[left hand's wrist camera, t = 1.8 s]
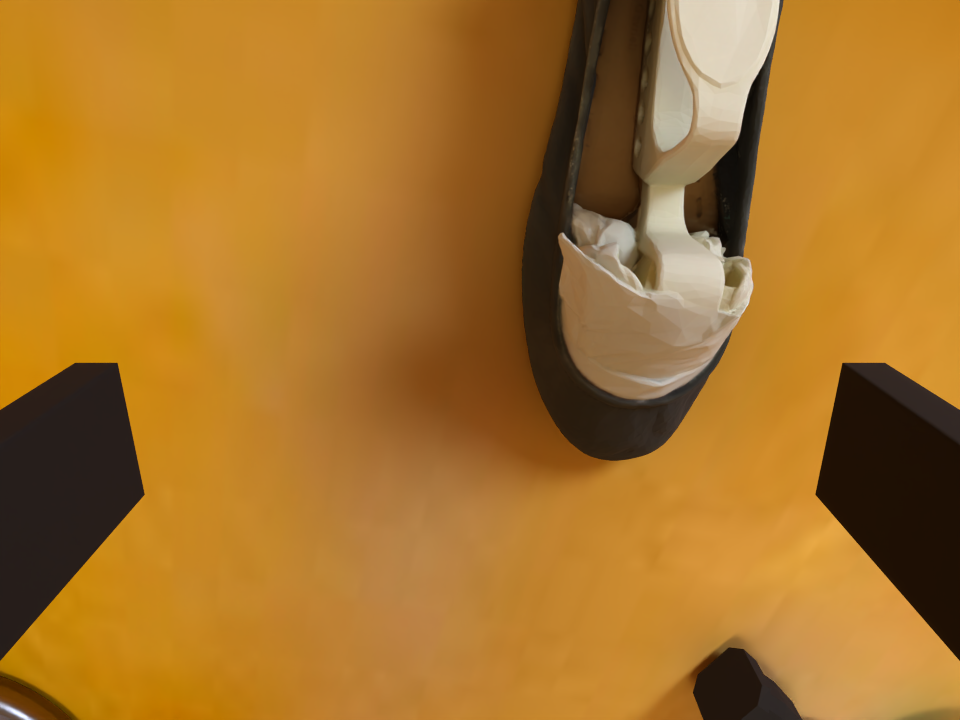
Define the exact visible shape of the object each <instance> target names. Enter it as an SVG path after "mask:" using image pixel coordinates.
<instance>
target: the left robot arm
mask: <svg viewBox="0 0 960 720" xmlns="http://www.w3.org/2000/svg"><path fill="white" fill-rule="evenodd" d="M144 495H145V494H144V489H143V485H142V480H141V475H140V470H139V465H138V460H137V455H136V451H135V446H134V441H133V436H132V431H131V426H130V421H129V417H128V412H127V407H126V402H125V397H124V392H123V387H122V383H121V378H120V373H119V368H118V363H74V364H73V365H71V366H70V367H68V368H66V369H65V370H63V371H62V372H60V373H58V374H57V375H55V376H54V377H52V378H50V379H49V380H47V381H46V382H44V383H42V384H41V385H39V386H38V387H36V388H35V389H33V390H31V391H30V392H28V393H27V394H25V395H23V396H22V397H20V398H19V399H17V400H15V401H14V402H12V403H11V404H9V405H7V406H6V407H4V408H3V409H1V410H0V660H1V659H2V658H3V657H4V656H5V655H6V653H7V652H8V651H9V650H10V649H11V648H12V647H13V645H14V644H15V643H16V642H17V641H18V640H19V639H20V637H21V636H22V635H23V634H24V633H25V632H26V630H27V629H28V628H29V627H30V626H31V625H32V624H33V622H34V621H35V620H36V619H37V618H38V617H39V616H40V614H41V613H42V612H43V611H44V610H45V609H46V607H47V606H48V605H49V604H50V603H51V602H52V601H53V599H54V598H55V597H56V596H57V595H58V594H59V592H60V591H61V590H62V589H63V588H64V587H65V586H66V584H67V583H68V582H69V581H70V580H71V579H72V578H73V576H74V575H75V574H76V573H77V572H78V571H79V569H80V568H81V567H82V566H83V565H84V564H85V563H86V561H87V560H88V559H89V558H90V557H91V556H92V554H93V553H94V552H95V551H96V550H97V549H98V548H99V546H100V545H101V544H102V543H103V542H104V541H105V540H106V538H107V537H108V536H109V535H110V534H111V533H112V531H113V530H114V529H115V528H116V527H117V526H118V525H119V523H120V522H121V521H122V520H123V519H124V518H125V517H126V515H127V514H128V513H129V512H130V511H131V510H132V508H133V507H134V506H135V505H136V504H137V503H138V502H139V500H140V499H141V498H142V497H143V496H144ZM815 495H816V496H817V497H818V498H819V499H820V500H821V502H822V503H823V504H824V505H825V506H826V507H827V508H828V510H829V511H830V512H831V513H832V514H833V515H834V517H835V518H836V519H837V520H838V521H839V522H840V523H841V525H842V526H843V527H844V528H845V529H846V530H847V531H848V533H849V534H850V535H851V536H852V537H853V538H854V540H855V541H856V542H857V543H858V544H859V545H860V546H861V548H862V549H863V550H864V551H865V552H866V553H867V554H868V556H869V557H870V558H871V559H872V560H873V561H874V563H875V564H876V565H877V566H878V567H879V568H880V569H881V571H882V572H883V573H884V574H885V575H886V576H887V578H888V579H889V580H890V581H891V582H892V583H893V584H894V586H895V587H896V588H897V589H898V590H899V591H900V592H901V594H902V595H903V596H904V597H905V598H906V599H907V601H908V602H909V603H910V604H911V605H912V606H913V607H914V609H915V610H916V611H917V612H918V613H919V614H920V615H921V617H922V618H923V619H924V620H925V621H926V622H927V624H928V625H929V626H930V627H931V628H932V629H933V630H934V632H935V633H936V634H937V635H938V636H939V637H940V639H941V640H942V641H943V642H944V643H945V644H946V645H947V647H948V648H949V649H950V650H951V651H952V652H953V653H954V655H955V656H956V657H957V658H958V659H959V660H960V410H959V409H957V408H956V407H954V406H953V405H951V404H949V403H948V402H946V401H945V400H943V399H941V398H940V397H938V396H937V395H935V394H933V393H932V392H930V391H929V390H927V389H925V388H924V387H922V386H921V385H919V384H918V383H916V382H914V381H913V380H911V379H910V378H908V377H906V376H905V375H903V374H902V373H900V372H898V371H897V370H895V369H894V368H892V367H890V366H889V365H887V364H886V363H842V368H841V373H840V378H839V383H838V387H837V392H836V397H835V402H834V407H833V412H832V417H831V421H830V426H829V431H828V436H827V441H826V446H825V451H824V455H823V460H822V465H821V470H820V475H819V480H818V485H817V489H816V494H815ZM0 720H72V719H71V718H70V717H69V716H68V715H66V714H65V713H64V712H63V711H62V710H61V709H60V708H58V707H57V706H56V705H54V704H53V703H51V702H50V701H49V700H47V699H46V698H44V697H43V696H41V695H39V694H38V693H36V692H34V691H32V690H31V689H29V688H27V687H25V686H23V685H21V684H19V683H16V682H14V681H12V680H10V679H7V678H4V677H2V676H0Z"/></svg>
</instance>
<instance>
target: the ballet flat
mask: <svg viewBox="0 0 960 720" xmlns="http://www.w3.org/2000/svg"><path fill="white" fill-rule="evenodd" d="M782 7H783V0H578V4H577V10H576V17H575V22H574V27H573V33H572V37H571V41H570V47H569V53H568V60H567V65H566V69H565V74H564V80H563V86H562V91H561V94H560V99H559V103H558V108H557V113H556V118H555V120H554V123H553V126H552V130H551V134H550V138H549V142H548V145H547V150H546V153H545V156H544V161H543V170H542V176H541V178H540V181H539V183H538V185H537V188H536V190H535V194H534V198H533V201H532V205H531V210H530V214H529V218H528V221H527V227H526V236H525V240H524V247H523V259H522V263H523V266H522V299H523V312H524V326H525V332H526V340H527V345H528V351H529V357H530V363H531V367H532V371H533V375H534V378H535V381H536V384H537V387H538V390H539V392H540V395H541V397H542V400H543V402H544V404H545V406H546V408H547V410H548V412H549V413H550V415H551V417H552V419H553V420H554V422H555V424H556V425H557V427H558V428H559V429H560V431H561V433H562V434H563V435H564V436H565V437H566V438H567V439H568V440H569V442H570V443H572V444H573V445H574V446H575V447H577V448H578V449H579V450H580V451H582V452H583V453H585V454H587V455H589V456H591V457H595V458H598V459H603V460H611V461H618V460H626V459H632V458H636V457H640V456H643V455H646V454H649V453H651V452H653V451H655V450H656V449H658V448H659V447H661V446H662V445H663V444H664V443H665V442H666V441H667V440H668V439H669V438H670V437H671V436H672V434H673V433H674V432H675V430H676V429H677V428H678V426H679V424H680V423H681V422H682V420H683V418H684V417H685V415H686V414H687V412H688V411H689V409H690V407H691V406H692V404H693V402H694V401H695V399H696V397H697V396H698V394H699V392H700V391H701V389H702V388H703V386H704V384H705V383H706V381H707V379H708V377H709V375H710V374H711V372H712V371H713V370H714V369H715V367H716V366H717V364H718V363H719V361H720V359H721V357H722V355H723V353H724V351H725V349H726V346H727V344H728V342H729V339H730V336H731V333H732V329H733V328H734V327H735V326H736V324H737V323H738V321H739V319H740V317H741V315H742V314H743V312H744V310H745V309H746V307H747V306H748V304H749V300H750V296H751V293H752V291H753V285H754V284H753V281H752V268H751V263H750V260H749V259H748V258H744V257H743V253H744V246H745V240H746V231H747V226H748V219H749V212H750V204H751V198H752V191H753V184H754V178H755V170H756V161H757V152H758V145H759V138H760V132H761V126H762V120H763V115H764V109H765V101H766V95H767V87H768V81H769V75H770V68H771V62H772V57H773V53H774V48H775V42H776V36H777V30H778V24H779V20H780V15H781V11H782Z"/></svg>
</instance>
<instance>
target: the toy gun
mask: <svg viewBox="0 0 960 720" xmlns="http://www.w3.org/2000/svg"><path fill="white" fill-rule="evenodd" d="M693 694H694V697H695V699H696V702H697V704H698V707H699V709H700V712H701V715H702V717H703V720H802V719H801V717H800V715H799V713H798V711H797V710H796V708H795V706H794V704H793V702H792V701H791V700H790V699H789V698H788V697H787V696H786V695H785V693H784V692H783V691H782V690H781V689H780V688H779V687H778V686H777V685H776V684H775V683H774V681H772V680H771V679H769V678H768V677H766V676H765V675H763V673H762V671H761V669H760V667H759V665H758V663H757V661H756V660H755V659H754V658H752V657H751V656H750V655H749V654H748V653H747V652H746V651H745V650H744V649H737V648H728V649H727V650H726V651H725V652H723V653H722V654H721V655H720V656H719V657H718V658H716V659H715V660H714V661H713V662H712V663H711V664H710V665H708V666H707V667H706V668H705V669H704V670H703V671H702V672H700V673H699V674H698V676H697V680H696V684H695V687H694V691H693Z"/></svg>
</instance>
